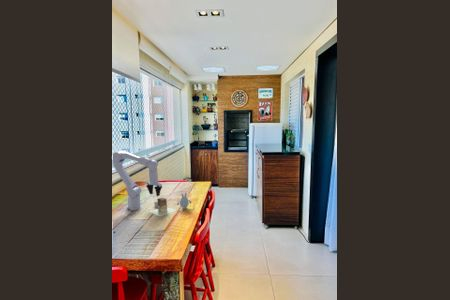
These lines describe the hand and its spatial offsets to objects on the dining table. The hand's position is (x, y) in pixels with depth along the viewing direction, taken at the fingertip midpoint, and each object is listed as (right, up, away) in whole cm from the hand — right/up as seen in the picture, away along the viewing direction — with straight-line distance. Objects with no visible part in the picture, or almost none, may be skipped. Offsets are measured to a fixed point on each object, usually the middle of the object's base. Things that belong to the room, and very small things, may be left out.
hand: (154, 194), depth 173 cm
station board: (+7, -11, -5) cm, 14 cm away
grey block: (+2, -10, +5) cm, 11 cm away
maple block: (+7, -10, -5) cm, 14 cm away
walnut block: (+7, -6, -6) cm, 11 cm away
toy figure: (+22, -11, -1) cm, 24 cm away
